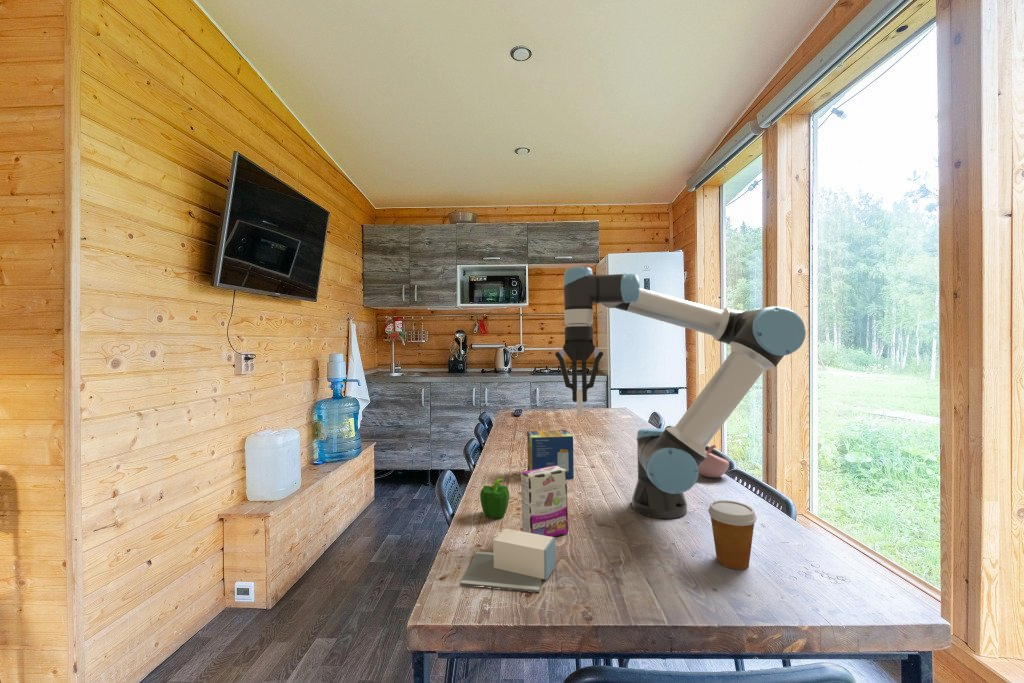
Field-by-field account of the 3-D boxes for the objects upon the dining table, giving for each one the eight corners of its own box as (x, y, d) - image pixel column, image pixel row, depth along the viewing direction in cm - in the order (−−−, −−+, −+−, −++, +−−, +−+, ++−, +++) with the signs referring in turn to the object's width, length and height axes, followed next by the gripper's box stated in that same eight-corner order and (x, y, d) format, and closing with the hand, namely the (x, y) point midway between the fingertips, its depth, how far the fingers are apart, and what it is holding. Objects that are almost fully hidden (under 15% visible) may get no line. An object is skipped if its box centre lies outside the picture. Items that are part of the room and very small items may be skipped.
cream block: (555, 537, 92) (504, 528, 97) (546, 550, 87) (493, 540, 92) (555, 565, 92) (505, 554, 97) (546, 579, 87) (493, 567, 92)
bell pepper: (486, 524, 115) (486, 486, 115) (476, 513, 123) (476, 478, 123) (514, 518, 119) (514, 482, 119) (503, 508, 126) (503, 474, 126)
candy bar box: (557, 526, 113) (557, 464, 113) (568, 534, 108) (568, 469, 108) (520, 536, 108) (519, 471, 108) (530, 544, 103) (529, 476, 103)
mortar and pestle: (736, 482, 146) (735, 448, 146) (700, 482, 146) (700, 449, 146) (719, 471, 158) (719, 440, 158) (686, 471, 158) (686, 441, 158)
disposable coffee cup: (756, 578, 87) (755, 519, 87) (705, 566, 92) (705, 510, 92) (758, 558, 95) (757, 504, 95) (711, 547, 100) (711, 496, 100)
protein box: (527, 472, 160) (526, 431, 160) (567, 470, 162) (566, 429, 162) (531, 481, 150) (530, 437, 150) (574, 479, 152) (573, 435, 152)
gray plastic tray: (546, 559, 96) (545, 556, 96) (539, 592, 83) (539, 589, 83) (477, 554, 99) (476, 551, 99) (460, 585, 86) (460, 582, 86)
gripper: (603, 325, 117) (604, 412, 117) (555, 326, 119) (556, 411, 119) (604, 324, 110) (605, 417, 110) (553, 326, 112) (554, 416, 112)
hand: (579, 414), depth 114 cm, fingers closed
